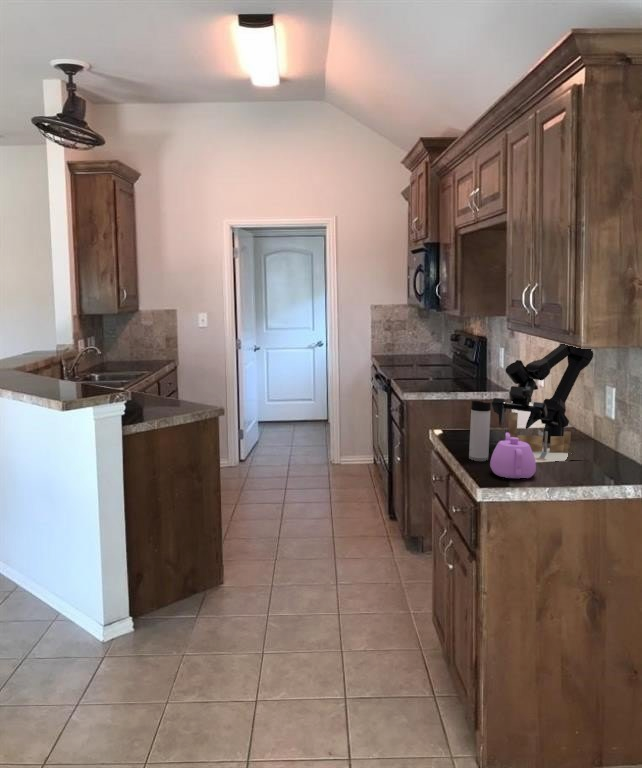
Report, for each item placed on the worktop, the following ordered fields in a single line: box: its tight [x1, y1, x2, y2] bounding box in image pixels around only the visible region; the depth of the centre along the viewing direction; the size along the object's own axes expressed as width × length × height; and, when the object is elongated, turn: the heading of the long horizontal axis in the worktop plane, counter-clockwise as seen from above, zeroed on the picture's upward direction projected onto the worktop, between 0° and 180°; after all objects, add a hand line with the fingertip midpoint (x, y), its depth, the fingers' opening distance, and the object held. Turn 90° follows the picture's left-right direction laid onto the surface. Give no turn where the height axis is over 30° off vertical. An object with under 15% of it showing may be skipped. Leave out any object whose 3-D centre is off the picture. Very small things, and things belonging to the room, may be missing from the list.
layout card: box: [532, 447, 568, 464], centre depth 247 cm, size 21×18×1 cm
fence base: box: [543, 430, 572, 453], centre depth 250 cm, size 9×3×8 cm, turn 104°
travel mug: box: [468, 400, 492, 462], centre depth 238 cm, size 6×7×20 cm
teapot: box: [489, 432, 537, 479], centre depth 219 cm, size 20×13×12 cm, turn 177°
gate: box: [507, 411, 544, 451], centre depth 249 cm, size 12×3×13 cm, turn 94°
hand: (513, 426), depth 250 cm, fingers open, 9 cm apart
